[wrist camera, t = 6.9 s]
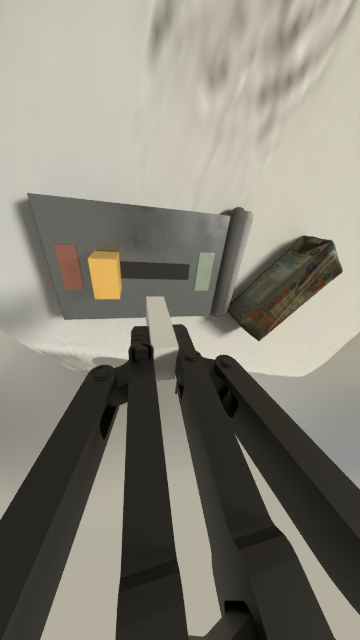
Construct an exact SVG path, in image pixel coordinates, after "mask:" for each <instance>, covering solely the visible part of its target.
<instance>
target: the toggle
mask: <svg viewBox="0 0 360 640" xmlns="http://www.w3.org/2000/svg"><path fill="white" fill-rule="evenodd" d="M88 263H89V268H90V274H91V280H92V286H93V291H94V297H95V299H120V296H121V289H122V284H121V272H120V260H119V252H108V251H94V252H93V253H92V254H91V255H90V256H89V258H88Z"/></svg>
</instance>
